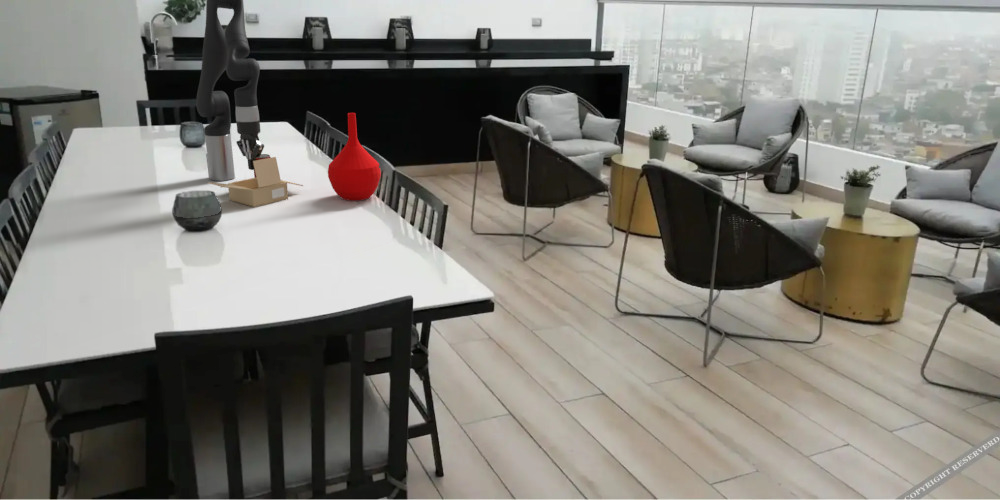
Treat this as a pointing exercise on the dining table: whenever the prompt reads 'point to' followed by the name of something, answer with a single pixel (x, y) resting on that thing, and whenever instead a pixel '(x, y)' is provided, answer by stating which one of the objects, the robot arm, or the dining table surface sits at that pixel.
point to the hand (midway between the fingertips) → (252, 169)
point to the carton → (258, 192)
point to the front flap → (267, 172)
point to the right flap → (227, 185)
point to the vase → (354, 168)
